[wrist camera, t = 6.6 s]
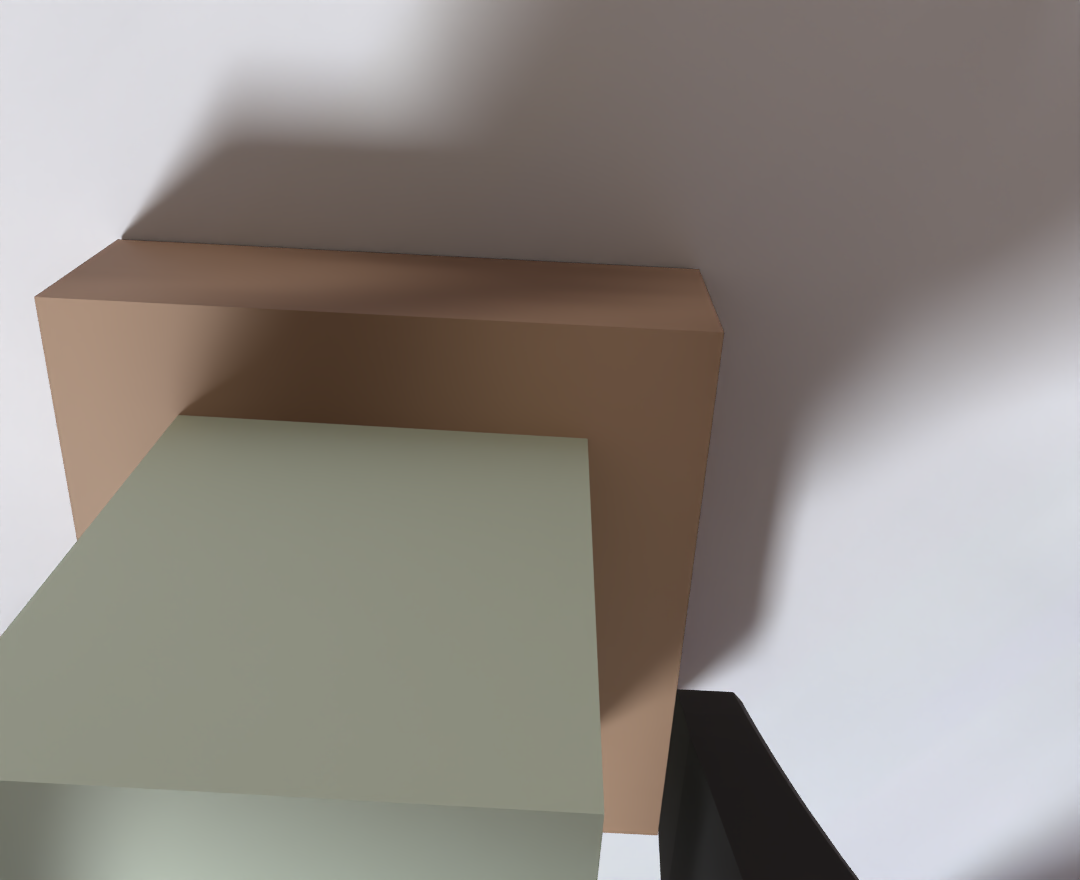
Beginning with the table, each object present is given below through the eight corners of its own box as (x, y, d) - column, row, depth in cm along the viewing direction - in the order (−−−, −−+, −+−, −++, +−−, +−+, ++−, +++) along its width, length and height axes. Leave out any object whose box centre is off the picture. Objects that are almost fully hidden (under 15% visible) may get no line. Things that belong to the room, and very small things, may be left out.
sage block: (587, 438, 13) (604, 815, 7) (561, 751, 15) (559, 1217, 9) (178, 415, 13) (-110, 774, 7) (213, 731, 15) (12, 1188, 9)
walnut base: (699, 269, 14) (723, 332, 12) (645, 721, 18) (657, 835, 16) (118, 239, 14) (34, 297, 12) (180, 697, 18) (124, 807, 16)
